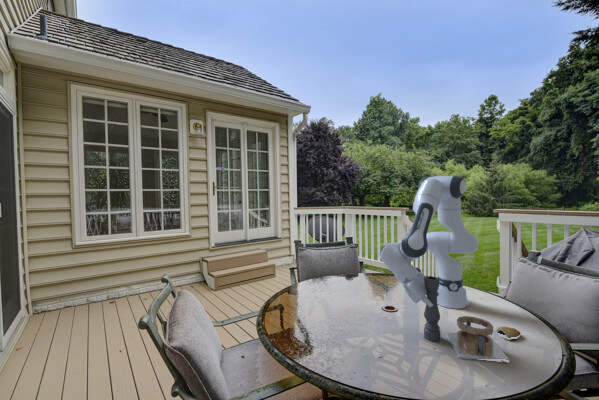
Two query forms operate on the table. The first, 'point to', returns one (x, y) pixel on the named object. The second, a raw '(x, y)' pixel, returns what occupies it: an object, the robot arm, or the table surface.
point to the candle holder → (432, 310)
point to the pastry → (508, 331)
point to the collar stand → (474, 340)
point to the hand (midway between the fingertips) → (433, 303)
